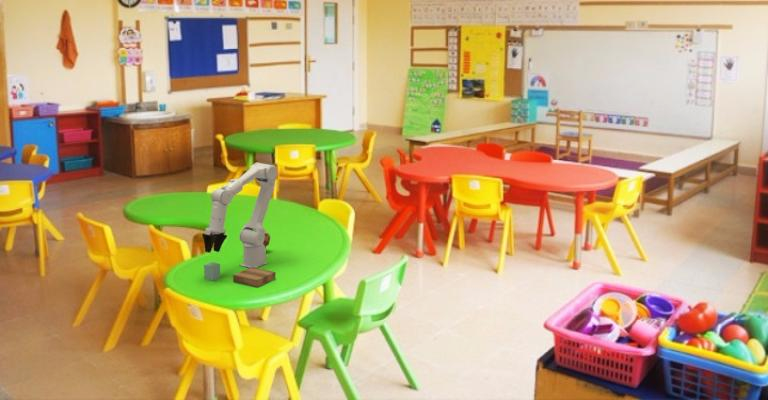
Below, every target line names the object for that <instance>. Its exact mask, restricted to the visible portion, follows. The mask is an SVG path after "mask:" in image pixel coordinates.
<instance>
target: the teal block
mask: <svg viewBox="0 0 768 400" xmlns="http://www.w3.org/2000/svg"><path fill="white" fill-rule="evenodd" d="M203 271H204V272H203V274H204V277H203V278H204V280H207V281H211V282H214V281H216V280H218V279H221V264H220V263H217V262H213V261H210V262H207V263H205V264H203Z"/></svg>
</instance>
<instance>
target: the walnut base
mask: <svg viewBox="0 0 768 400" xmlns="http://www.w3.org/2000/svg"><path fill="white" fill-rule="evenodd" d="M275 280H276V271H272V270H267V269H263V268H260V267H257V268H255V267H251V268H248V267H247V268H246V269H243V270H241V271H239V272H237V273H234V274H233V275H232V282H233V283H236V284H241V285H243V286H244V285H245V286H248V287H252V288H260V287H261V286H264V285H266V284H268V283H270V282H273V281H275Z"/></svg>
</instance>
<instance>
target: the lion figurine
mask: <svg viewBox="0 0 768 400" xmlns="http://www.w3.org/2000/svg"><path fill="white" fill-rule="evenodd" d="M270 241H271V235H270V232H265V238H264V242H263V244H264V246H265V249H266V250H267V247H268V246H269V245H270ZM266 255H267V252H266ZM242 257H243V258H244V255H243V256H242Z"/></svg>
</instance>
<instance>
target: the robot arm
mask: <svg viewBox="0 0 768 400" xmlns="http://www.w3.org/2000/svg"><path fill="white" fill-rule="evenodd" d="M278 173H279V171H278V170H277V167H276V166H275V165H274V164H266V163H261V162H257V161H256V162H255V163H253V164H251V166H250V167H249V169H248V170H247V171H246V172H244V174H243V175H241V176H240V177H239V178H238V179H237V178H234V179H233V178H231V179H230V180H229V182H228V183H226V184H225V185H223V186H221V188H216V189H214V190H213V192H212V193H211V195H210V199H211V205H212V208H211V212H210V213H211V214H210V219H209V226H208V227H206V228H205V230H204V233H202V239H203V243H204V252H205V253H209V254H210V253H211V252H212V249H213V251H214V252H216V253H219V252H220V250H221V248H222V246H223V244H224V242H225V240H226V239H227V238H228V235H227V234H226V231H227V229H225V228H224V227H225V222H226V217H227V216H226V215H227V210H228V205H229V204H230V203H231V202H232V200H233V198H234V197H235V196H237V195H238V194H239V193H240V192H242V190H243V189H244V188H243V187H244V186H245V185H247V184H248V183H250V182H252V181H253V180H256V181H257V182H258V183H259V185H260V188H259V191H258V195H257V198H256V201H255V204H254V207H253V210H252V212H251V213H252V214H251V216H250V220H249V221H248V222H246V223H245V224H244V225H243V227H242V229H241V231H240V233H239V236H238V238H239V241H240V242H241V243H242V246H243V256H244V257H243V262H242V263H240V264H239V266H240V267H244V268H247V269H248V268H251V267H255V268H260V267H261V266H264V265H266V264H268V261H267V260H266V258H267V257H266V256H267V254H266V253H267V252H266V250H267V248H266V249H265V246H264V244H263V242H264V238H265V233H266V228H264V226H263V223H264V220H265V217H266V214H267V211H268V207H269V205H270V202H271V198H272V195H273V192H274V189H275V186H276V180H277V176H278Z"/></svg>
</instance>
